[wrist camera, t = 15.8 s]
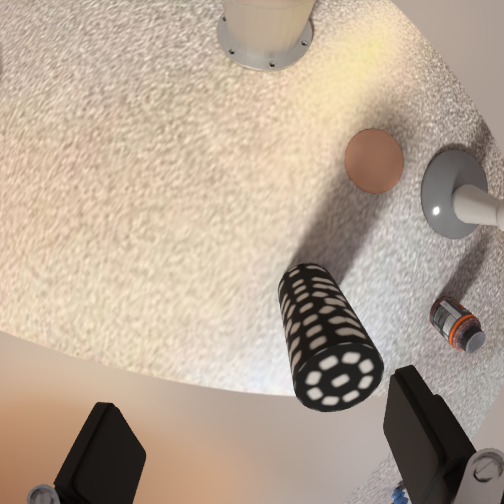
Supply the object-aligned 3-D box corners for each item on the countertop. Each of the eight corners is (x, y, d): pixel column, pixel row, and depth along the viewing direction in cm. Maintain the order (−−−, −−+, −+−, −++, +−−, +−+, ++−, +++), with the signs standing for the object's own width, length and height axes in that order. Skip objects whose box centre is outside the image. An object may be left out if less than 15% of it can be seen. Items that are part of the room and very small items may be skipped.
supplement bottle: (459, 303, 45) (495, 333, 34) (440, 330, 46) (472, 364, 35) (442, 289, 44) (479, 320, 33) (422, 318, 45) (455, 354, 34)
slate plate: (416, 151, 37) (419, 150, 36) (481, 149, 37) (485, 149, 36) (422, 243, 41) (425, 245, 40) (484, 231, 41) (487, 233, 40)
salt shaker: (445, 220, 39) (500, 243, 27) (445, 182, 38) (503, 195, 25) (471, 218, 39) (526, 239, 27) (472, 182, 37) (529, 194, 25)
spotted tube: (317, 252, 42) (365, 324, 23) (343, 297, 44) (394, 383, 25) (266, 282, 43) (276, 373, 24) (295, 325, 45) (318, 423, 26)
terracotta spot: (339, 131, 37) (340, 131, 37) (398, 127, 37) (399, 127, 36) (348, 196, 40) (349, 196, 39) (405, 189, 39) (406, 189, 39)
